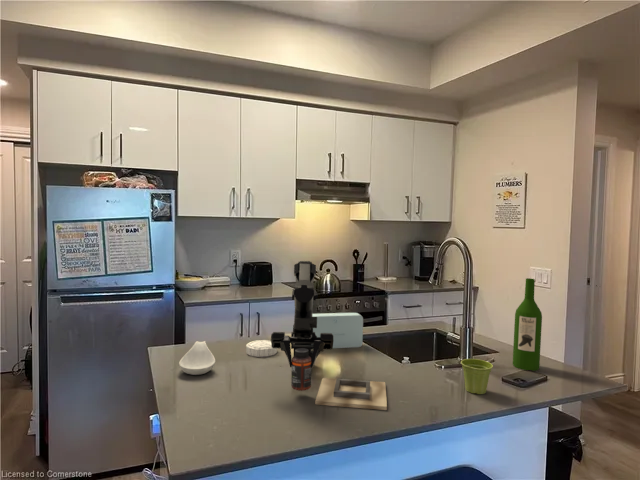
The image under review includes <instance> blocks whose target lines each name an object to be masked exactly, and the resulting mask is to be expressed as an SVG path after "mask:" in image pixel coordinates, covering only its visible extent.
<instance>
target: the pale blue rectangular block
mask: <svg viewBox="0 0 640 480" xmlns="http://www.w3.org/2000/svg"><path fill="white" fill-rule="evenodd" d="M312 317H317V328H313V332H315V334H316V336H317V337H320V334H321V333H332V334H333V349H343V348H344V349H346V348H347V349H348V348H360V347H362V346H363V339H364V337H363V336H364V335H363V334H364V331H363V330H364V317H363V316H362V315H361V314H360V313H358V312H335V313H333V312H329V313H312Z"/></svg>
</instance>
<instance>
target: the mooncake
mask: <svg viewBox="0 0 640 480" xmlns="http://www.w3.org/2000/svg"><path fill="white" fill-rule="evenodd" d="M245 353H246V355H249V356H251V357H256V358H257V357H258V358H259V357H269V356H270V357H271V356H274V355H276V354H277V353H278V348H272V344H271V340H270V339H269V340H268V339H262V340H261V339H260V340H259V339H258V340H257V339H256V340H253V341H250V342H248V343H246V345H245Z"/></svg>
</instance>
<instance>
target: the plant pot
mask: <svg viewBox="0 0 640 480" xmlns="http://www.w3.org/2000/svg"><path fill="white" fill-rule="evenodd" d="M460 364H461V366H462V369H463V378H464V389H465V390H466V391H467V392H468V393H470V394H477V395H484V394H486V393H487V391H488V390H487V389H488V383H489V379H490V374H491V371H492V369H493V367H494V365H493V364H492V363H491V362H489V361H487V360H483V359H478V358H465V359H461V361H460Z"/></svg>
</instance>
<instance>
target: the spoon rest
mask: <svg viewBox="0 0 640 480" xmlns="http://www.w3.org/2000/svg"><path fill="white" fill-rule="evenodd" d="M206 342H207V341H206V340H204V341H198V340H197V341H195V342H194V344H192V347H191V348H190V349H189V350H188V351H187V352H186V353H185V354H184V355H183V356H182V357H181V359H180V360H179V362H178V366H179V368H180V370H182V371H183V372H184V373H185V374H188V375H192V376H200V375H203V374H206V373H208V372H210V371H211V370H212V368H214V366H215V364H216V358H215V356H214V354H213V353H212V351H211V350H210V349H209V347H208V345H207V343H206Z"/></svg>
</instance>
